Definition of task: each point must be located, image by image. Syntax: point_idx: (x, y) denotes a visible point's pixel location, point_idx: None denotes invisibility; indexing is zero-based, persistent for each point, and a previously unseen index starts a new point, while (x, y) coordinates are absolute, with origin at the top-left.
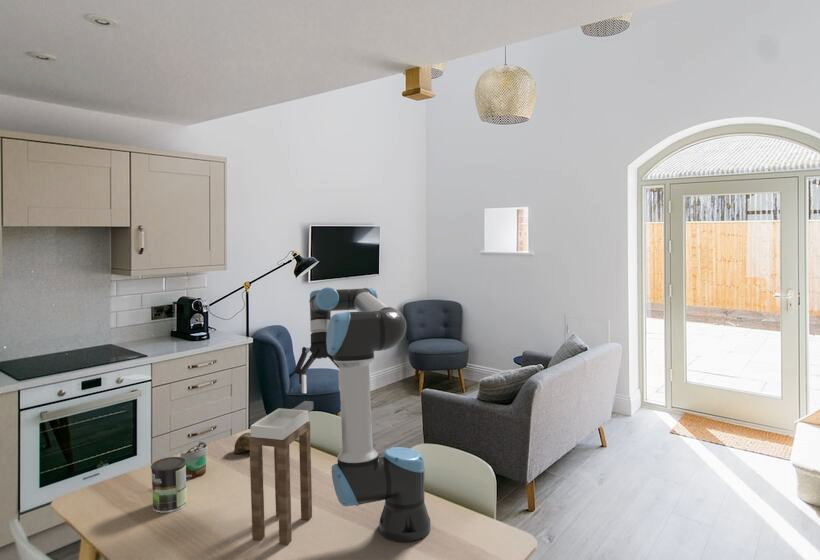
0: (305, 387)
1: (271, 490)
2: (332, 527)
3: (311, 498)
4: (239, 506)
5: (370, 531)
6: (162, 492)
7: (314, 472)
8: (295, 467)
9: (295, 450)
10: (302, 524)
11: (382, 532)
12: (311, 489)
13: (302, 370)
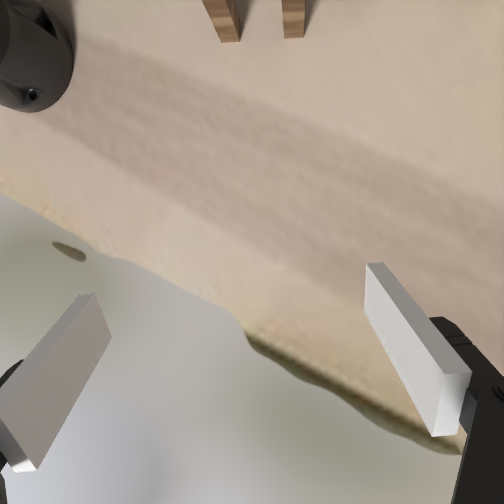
0: (380, 319)
1: (377, 137)
2: (160, 13)
3: (210, 16)
4: (421, 33)
5: (83, 25)
6: None
7: (311, 258)
8: None
9: None
10: None
11: (50, 12)
12: (203, 2)
13: (498, 427)
